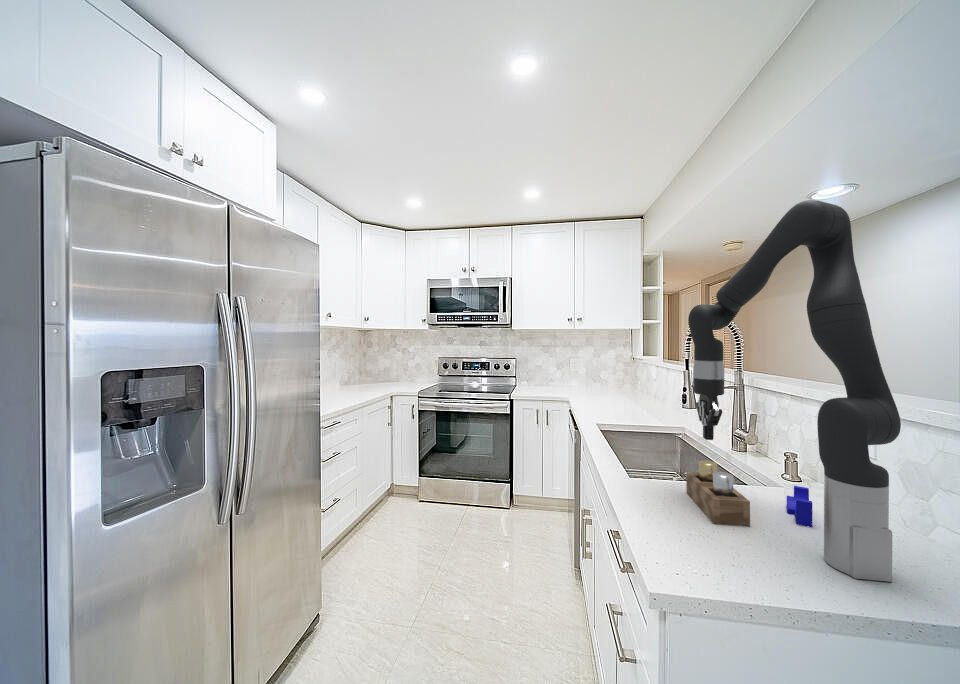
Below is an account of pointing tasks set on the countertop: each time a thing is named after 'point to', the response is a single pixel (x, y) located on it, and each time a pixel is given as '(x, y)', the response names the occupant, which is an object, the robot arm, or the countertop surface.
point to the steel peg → (723, 484)
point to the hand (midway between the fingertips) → (708, 439)
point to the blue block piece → (800, 506)
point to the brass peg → (707, 470)
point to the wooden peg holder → (718, 503)
